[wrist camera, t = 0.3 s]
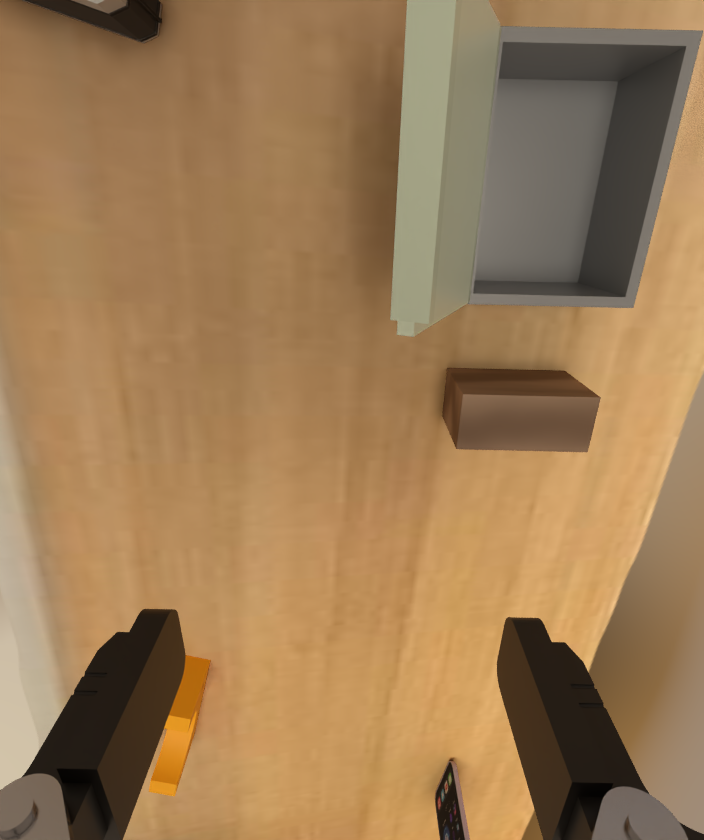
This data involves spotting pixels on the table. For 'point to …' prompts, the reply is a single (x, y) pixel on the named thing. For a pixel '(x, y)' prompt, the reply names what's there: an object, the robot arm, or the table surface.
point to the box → (577, 162)
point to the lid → (441, 156)
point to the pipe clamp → (180, 727)
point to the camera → (112, 15)
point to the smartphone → (451, 806)
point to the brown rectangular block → (518, 410)
